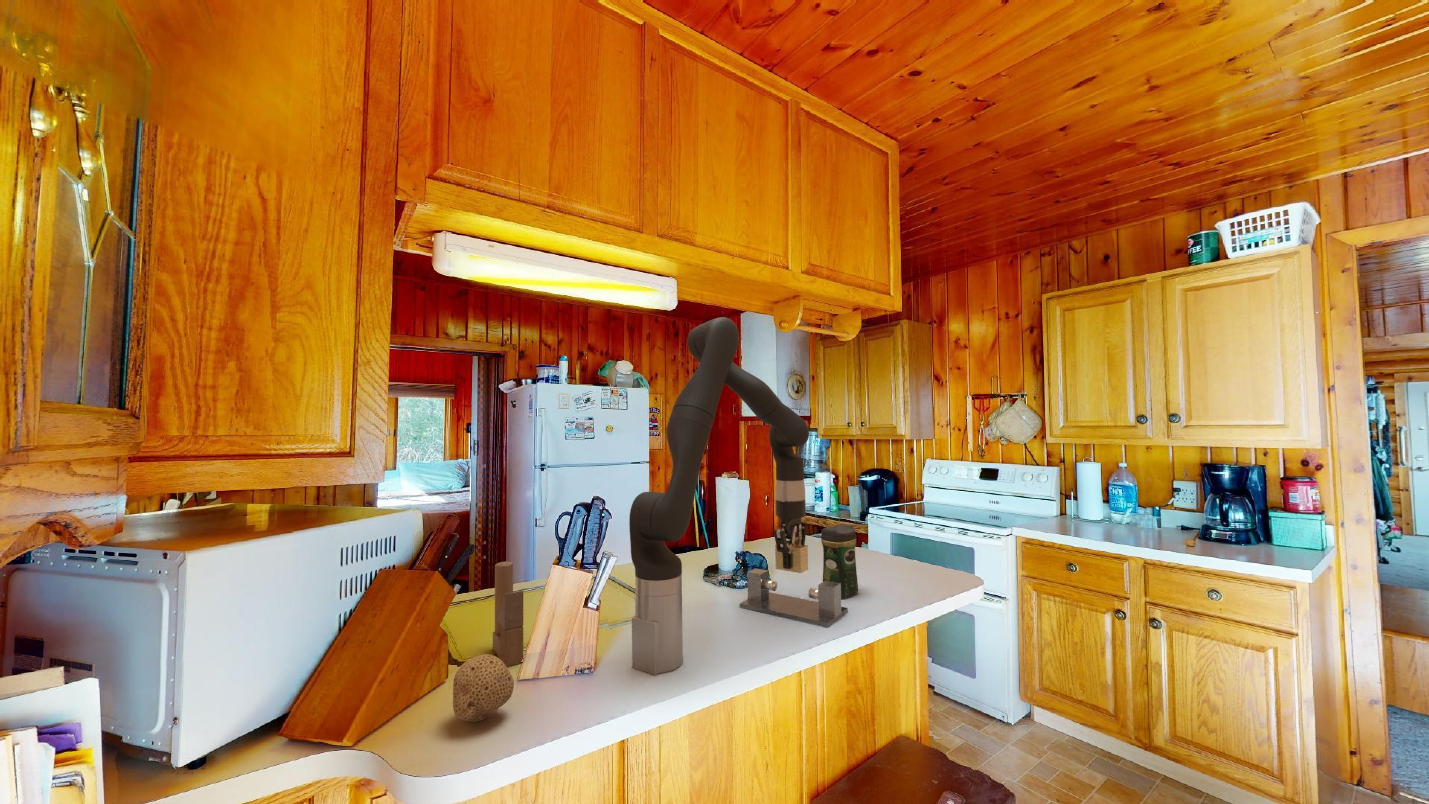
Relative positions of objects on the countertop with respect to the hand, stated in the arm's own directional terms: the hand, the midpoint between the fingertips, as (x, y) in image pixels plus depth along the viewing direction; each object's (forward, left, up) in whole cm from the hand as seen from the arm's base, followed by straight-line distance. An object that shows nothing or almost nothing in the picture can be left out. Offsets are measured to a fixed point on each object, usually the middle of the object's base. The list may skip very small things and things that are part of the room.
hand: (791, 565), depth 133 cm
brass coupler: (0, 0, -1) cm, 1 cm away
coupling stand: (0, 0, -11) cm, 11 cm away
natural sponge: (-72, +18, -11) cm, 75 cm away
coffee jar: (+18, -5, -11) cm, 22 cm away
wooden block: (-56, +36, -11) cm, 67 cm away
